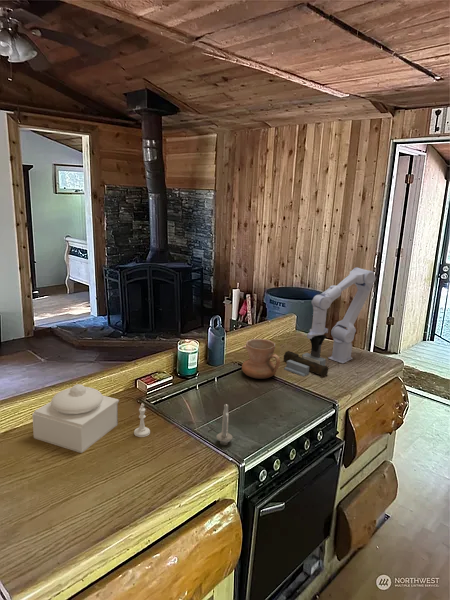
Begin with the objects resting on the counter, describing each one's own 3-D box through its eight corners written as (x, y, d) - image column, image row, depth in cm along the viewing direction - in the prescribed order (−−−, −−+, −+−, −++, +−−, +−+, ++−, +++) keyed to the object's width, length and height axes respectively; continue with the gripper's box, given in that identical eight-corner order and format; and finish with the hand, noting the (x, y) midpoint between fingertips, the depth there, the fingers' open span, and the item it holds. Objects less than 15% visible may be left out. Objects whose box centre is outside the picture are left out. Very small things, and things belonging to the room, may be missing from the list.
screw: (215, 438, 135) (230, 438, 136) (217, 447, 130) (233, 446, 131) (217, 400, 132) (232, 399, 133) (219, 408, 127) (235, 407, 128)
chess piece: (152, 430, 138) (153, 401, 135) (145, 438, 133) (145, 408, 131) (139, 427, 139) (139, 398, 137) (130, 435, 135) (130, 405, 132)
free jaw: (306, 359, 204) (308, 340, 202) (325, 366, 198) (327, 346, 195) (301, 362, 201) (303, 342, 199) (320, 368, 194) (322, 348, 192)
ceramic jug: (232, 373, 184) (233, 341, 181) (252, 364, 195) (254, 334, 191) (267, 387, 173) (269, 353, 170) (286, 377, 184) (289, 345, 180)
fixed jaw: (289, 366, 195) (290, 359, 194) (309, 373, 188) (309, 366, 187) (284, 369, 192) (284, 361, 191) (303, 376, 185) (304, 368, 184)
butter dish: (33, 438, 130) (30, 389, 127) (74, 412, 147) (73, 368, 143) (81, 454, 124) (80, 402, 121) (119, 424, 141) (118, 378, 137)
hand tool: (328, 376, 188) (330, 363, 186) (321, 378, 184) (323, 366, 183) (288, 359, 204) (289, 348, 203) (281, 361, 201) (282, 350, 200)
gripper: (319, 317, 203) (316, 344, 206) (302, 322, 193) (299, 351, 196) (333, 320, 199) (330, 348, 202) (316, 326, 188) (313, 356, 191)
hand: (315, 350), depth 199 cm, fingers closed on free jaw, 2 cm apart
